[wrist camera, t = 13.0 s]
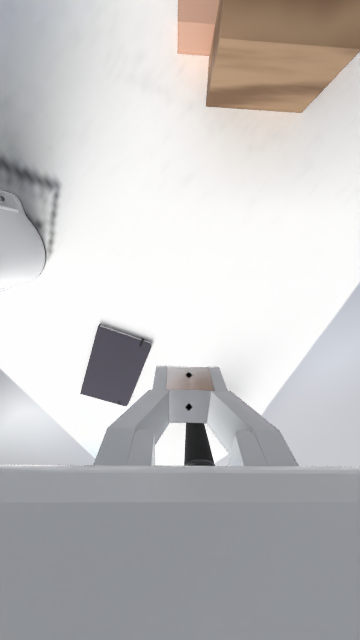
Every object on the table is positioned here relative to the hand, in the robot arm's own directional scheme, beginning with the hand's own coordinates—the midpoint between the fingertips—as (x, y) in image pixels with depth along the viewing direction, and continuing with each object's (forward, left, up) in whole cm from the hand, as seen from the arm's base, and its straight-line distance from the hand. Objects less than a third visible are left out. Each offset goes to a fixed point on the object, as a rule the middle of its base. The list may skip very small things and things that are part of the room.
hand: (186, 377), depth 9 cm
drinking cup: (+23, -35, -31) cm, 52 cm away
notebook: (-4, -28, -32) cm, 43 cm away
